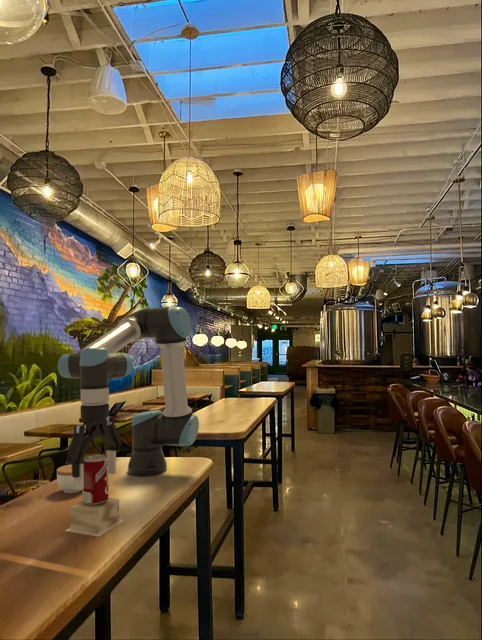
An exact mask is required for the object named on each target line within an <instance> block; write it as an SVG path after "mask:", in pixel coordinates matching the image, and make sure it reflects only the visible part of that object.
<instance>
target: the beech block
mask: <svg viewBox="0 0 482 640" xmlns="http://www.w3.org/2000/svg"><path fill="white" fill-rule="evenodd" d="M69 509H70V510H69V511H70V513H69V514H70V519H69V520H70V527H69V528H70V530H75V531H81V532H87V533H93V534H99V533H101V532H102V531H104V530H105V529H107V528H109V527H110V526H112V525H113V524H115V523H117V522H118V521H119V519H120V499H119V498H114V497H108V500H107V501H106V502H104V503H103V504H100V505H96V506H89V505H86V504H84V503H83V500H82V501H81V500H80V501H79V502H77V503H75V504H74V505H71V506H70V507H69Z"/></svg>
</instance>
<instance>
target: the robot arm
mask: <svg viewBox="0 0 482 640" xmlns="http://www.w3.org/2000/svg"><path fill="white" fill-rule="evenodd" d="M191 333H192V322H191V318H190V315H189V314H188V312H187V310H186V309H185V308H184V307H180V306H164V307H162V306H161V307H146V308H142V309H140V310H137V311H134V312H132V313H131V314H128V315H127V316H125V317H124V318H122V319H120V320H119V322H118V323H117V325H116V326H115V327H113V328H112V329H110V330H109V331H107V332H106V333H104V334H103V335H101V336H100V337H98V338H97V339H96V340H94V341H92V342H91V343H89V344H87V346H85V347H83V348H82V349H80V350H78V351H77V352H76V353H75V352H74V353H71V352H70V353H65V354H62V355H61V356H60V357H59V358H58V361H57V371H58V373H59V376H61V377H63V378H65V379H66V378H67V379H74V380H75V379H80V380H79V381H80V386H79V387H80V403H81V405H80V419H82V421H83V422H82V424H81V425H80V424H76V425H74V427H73V436H72V439H71V442H70V445H69V449H68V451H67V455H66V459H65V465H70V464H71V465H72V477H73V489H78V490H82V491H83V489H84V472H83V464H84V463H82V461H83V460H84V459H85V455H86V453H87V451H88V448H90V445H91V443H92V442H94V439H97V438H99V437H100V439H101V440H102V441H103V443H104V444H105V446H106V447H107V450H105V451H106V452H105V453H106V454H105V455H106V456H105V457H106V461H107V462H108V475H116V474H117V451H119V450H120V448H121V446H122V441H121V439H120V435H119V433H118V429H117V427H116V425H115V417H114V416H110V404H109V403H108V402H109V401H110V388H109V387H110V386H109V385H110V384H109V380H113V379H122V378H125V377H126V376H128V375H130V374H131V373H132V371H133V369H134V362H133V359H132V357H131V356H130V355H129V354H127V353H125V352H119V351H121V350H122V349H123V348H124V347H126V346H127V345H129V344H130V343H134V342H137V341H139V340H140V339H155V345H157V346H158V347H159V348H160V360H161V371H162V380H163V381H162V383H163V392H164V393H163V394H164V404H165V406H164V407H165V408H164V410H163V411H162V410H159V409H156V410H154V409H153V410H148V411H143V412H140V413H135V414H134V415H133V416H132V420H131V445H132V446H131V449H132V450H131V455H130V458H129V461H128V465H127V474H130V475H131V476H136V477H137V476H138V477H140V476H141V477H147V476H148V477H149V476H154V475H159V474H162V473H164V472H166V471H167V469H168V468H167V467H168V465H167V461H166V457H165V454H164V452H163V446H176V447H189V446H192V445H193V444H194V442H195V441H196V439H197V436H198V433H199V428H200V425H199V424H200V423H199V422H200V421H199V418H198V416H197V415H195V414H193V409H192V408H191V407H190V406H189V405H188V396H187V395H188V394H187V393H188V391H187V382H186V381H187V380H186V369H185V357H184V356H185V355H184V345H185V343H187V338H188V337H189V336H190V335H191Z"/></svg>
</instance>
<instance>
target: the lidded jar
mask: <svg viewBox="0 0 482 640" xmlns="http://www.w3.org/2000/svg"><path fill="white" fill-rule="evenodd" d="M56 478H57V479H56V480H57V484H58V487H59V488H60V489H61V490H62V491H63V493H65V494H77V493H79V492H81V490H78V489H73V477H72V465H71V464H65V465H62V466H60V467H58V468H57V469H56Z"/></svg>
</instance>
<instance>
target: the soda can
mask: <svg viewBox="0 0 482 640" xmlns="http://www.w3.org/2000/svg"><path fill="white" fill-rule="evenodd" d="M82 464H83V472H84V489H83V490H82V501H83V503H84V504H86V505H89V506H96V505H100V504H103V503H104V502H106V501H107V500H108V498H109V474H108V462H107V457H106V456H104V455H93V456H88V457H85V458H84V463H82Z"/></svg>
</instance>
